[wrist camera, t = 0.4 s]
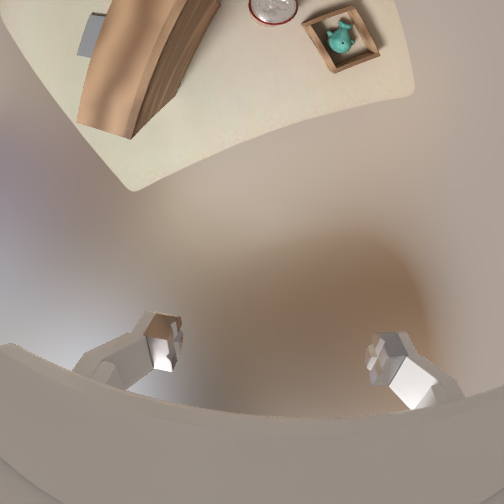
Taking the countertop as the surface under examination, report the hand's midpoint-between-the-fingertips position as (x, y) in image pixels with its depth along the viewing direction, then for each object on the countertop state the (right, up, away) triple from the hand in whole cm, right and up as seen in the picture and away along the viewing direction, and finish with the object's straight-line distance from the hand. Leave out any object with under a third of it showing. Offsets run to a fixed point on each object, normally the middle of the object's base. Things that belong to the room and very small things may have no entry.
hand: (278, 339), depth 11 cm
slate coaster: (-32, +48, +24) cm, 62 cm away
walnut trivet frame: (+16, +45, +27) cm, 54 cm away
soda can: (+2, +48, +24) cm, 54 cm away
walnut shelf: (-16, +44, +28) cm, 54 cm away
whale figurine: (+16, +45, +27) cm, 55 cm away
